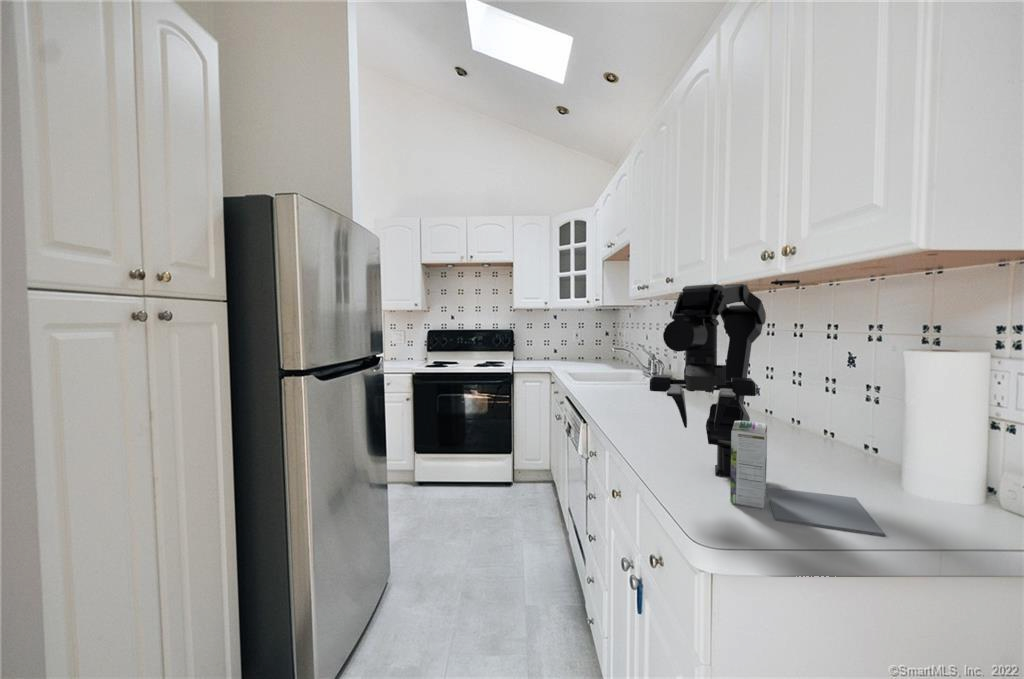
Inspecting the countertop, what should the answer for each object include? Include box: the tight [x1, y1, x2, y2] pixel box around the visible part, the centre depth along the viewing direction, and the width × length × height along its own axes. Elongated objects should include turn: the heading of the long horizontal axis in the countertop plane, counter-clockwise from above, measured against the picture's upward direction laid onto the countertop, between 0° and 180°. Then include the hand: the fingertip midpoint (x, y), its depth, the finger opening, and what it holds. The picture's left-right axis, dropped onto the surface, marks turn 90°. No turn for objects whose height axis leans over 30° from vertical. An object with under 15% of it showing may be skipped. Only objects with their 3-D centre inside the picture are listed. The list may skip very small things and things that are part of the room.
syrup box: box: [729, 421, 768, 509], centre depth 84 cm, size 6×6×14 cm
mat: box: [766, 486, 886, 537], centre depth 81 cm, size 16×15×1 cm
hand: (700, 428), depth 89 cm, fingers open, 5 cm apart
